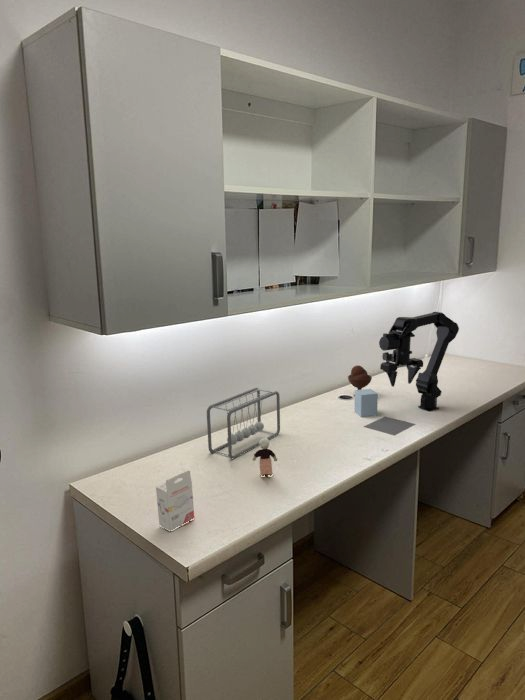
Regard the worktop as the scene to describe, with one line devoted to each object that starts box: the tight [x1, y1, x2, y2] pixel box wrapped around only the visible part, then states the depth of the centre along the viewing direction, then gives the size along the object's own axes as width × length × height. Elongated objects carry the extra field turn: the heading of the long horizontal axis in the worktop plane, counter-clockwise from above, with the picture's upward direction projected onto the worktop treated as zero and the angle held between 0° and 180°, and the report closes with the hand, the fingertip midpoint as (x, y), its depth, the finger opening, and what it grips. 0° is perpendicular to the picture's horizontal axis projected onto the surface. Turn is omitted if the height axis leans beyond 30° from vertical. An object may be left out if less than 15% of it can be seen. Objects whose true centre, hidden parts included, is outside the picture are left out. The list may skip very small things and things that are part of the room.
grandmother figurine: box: [252, 437, 278, 476], centre depth 166 cm, size 8×4×13 cm, turn 99°
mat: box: [363, 416, 416, 436], centre depth 207 cm, size 16×14×1 cm
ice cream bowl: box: [347, 365, 373, 398], centre depth 245 cm, size 11×11×15 cm
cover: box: [354, 388, 379, 418], centre depth 220 cm, size 7×7×10 cm
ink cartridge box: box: [155, 469, 195, 531], centre depth 139 cm, size 9×5×15 cm, turn 138°
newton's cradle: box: [206, 387, 281, 460], centre depth 192 cm, size 30×10×18 cm, turn 143°
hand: (401, 384), depth 217 cm, fingers open, 9 cm apart
